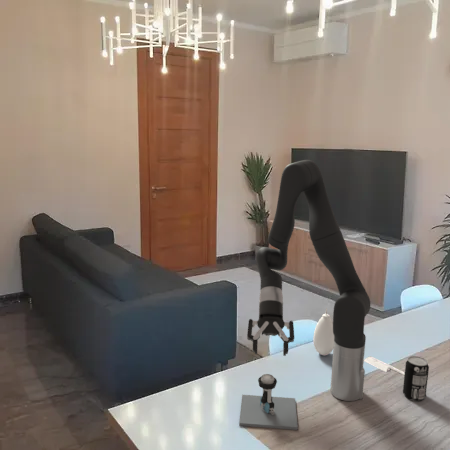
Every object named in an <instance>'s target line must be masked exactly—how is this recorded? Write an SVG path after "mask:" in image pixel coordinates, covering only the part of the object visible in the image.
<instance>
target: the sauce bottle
mask: <svg viewBox="0 0 450 450" xmlns="http://www.w3.org/2000/svg"><path fill="white" fill-rule="evenodd" d="M312 341H313V346H314V349H315V350H316V352H317V353H318V354H319V355H321V356H327V355H329V354H331V353H333V348H334V334H333V319H332V318H331V316H330V314H328V308H327V307H326V309H325V313H323V314H322V315H321V317H320V318H319V320H318V321H317V324H315V328H314V332H313V340H312Z"/></svg>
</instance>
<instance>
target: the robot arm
mask: <svg viewBox="0 0 450 450" xmlns="http://www.w3.org/2000/svg"><path fill="white" fill-rule="evenodd" d="M302 193H303V195H304V196H305V199H306V202H307V205H308V211H309V220H308V221H309V224H308V225H309V227H308V231H309V232H308V233H309V237H310V238H309V239H310V241H311V244H312V245H313V248H314V250H315V253H316V255H317V257H318V259H319V260H320V261H321V263H322V265H324V266H325V269H327V270H328V271H329V273H331V276H332V278H333V280H334V281H335V284H336V286H337V290H338V293H339V297H337V299H336V300H335V301H334V305H333V310H332V311H333V313H332V314H333V315H332V322H333V334H334V348H333V350H332V364H331V377H330V379H331V380H330V381H331V382H330V394H331V395H332V396H333V397H334V398H336V399H338V400H342V401H345V402H354V401H357V400H362V399H363V396H364V394H363V393H364V385H365V384H364V383H365V372H366V371H365V368H364V362H365V361H364V359H365V351H366V339H367V338H366V337H367V336H366V334H365V333H364V332H365V320H366V319H365V318H366V316H367V315H368V314H369V312H370V310H371V305H372V304H371V300H370V297H369V294H368V292H367V291H366V288H365V286H364V285H363V283H362V281H361V278H360V277H359V275H358V273H357V270H356V268H355V266H354V262H353V260H352V257H351V255H350V252H349V248H348V247H347V246H348V245H347V243H346V240H345V237H344V236H343V233H342V231H341V228H340V226H339V223H338V221H337V219H336V216H335V213H334V211H333V207H332V205H331V202H330V200H329V197H328V193H327V189H326V186H325V183H324V179H323V176H322V172H321V170H320V168H319V165H317V163H316V162H315V161H313V160H311V159H303V160H298V161H295V162H292V163H289V164H287V165H286V166H285V167H284V169H283V171H282V173H281V178H280V183H279V190H278V198H277V204H276V209H275V215H274V218H273V220H272V224H271V227H270V231H269V232H268V237H267V243H268V244H269V245H270V246H271V247H265V246H263V247H260V248H259V249H258V250H257V252H256V255H255V262H256V266H257V270H258V273H259V278H260V289H259V290H260V293H259V301H258V306H259V307H258V320H253V319H252V318H250V319H249V320H248V326H247V334H246V335H247V336H246V338H247V340H248V341H251V342H252V352H253V353H254V355H258V341H259V340H260V339H261V338H262V337H263V336H264V335H265V336H267V337H268V336H272V337H276V336H278V338H279V339H280V340H282V342H283V345H282V347H283V349H282V350H283V353H282V355H283V356H284V357H286V356H287V355H288V353H289V343H294V342H295V341H294V340H295V329H294V326H295V325H294V321H293V320H290V321H284V296H283V278H282V275H281V274H280V273H278V272H277V271H283V270H284V269H285V268H286V267H287V264H288V251H289V244H290V241H291V238H292V235H293V231H294V229H295V222H296V220H295V218H296V217H295V207H296V204H297V201H298V199H299V197H300V196H301V194H302ZM272 247H273V248H272ZM256 326H257V327H258V328H259V329H258V330H257V331H256V333H255V334H254V335H253V329H254V328H255V327H256ZM284 327H285V328H286V329H287V330H288V333H289V336H288V335H286V333H285V332H284V330H283V329H284Z"/></svg>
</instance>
